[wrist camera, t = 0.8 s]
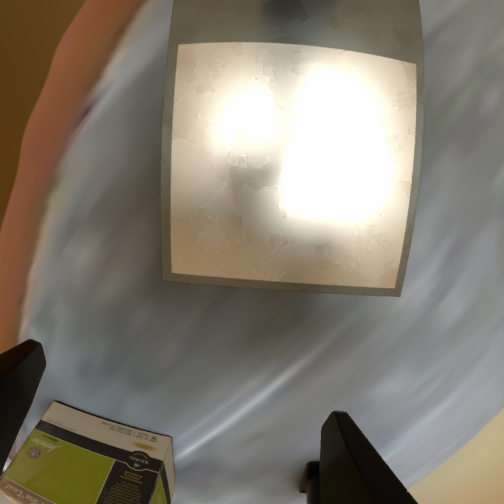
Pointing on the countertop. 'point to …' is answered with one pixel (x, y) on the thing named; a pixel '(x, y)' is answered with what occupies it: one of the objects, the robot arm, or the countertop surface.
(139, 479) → the tea box
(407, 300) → the countertop surface
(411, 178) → the arbor press
